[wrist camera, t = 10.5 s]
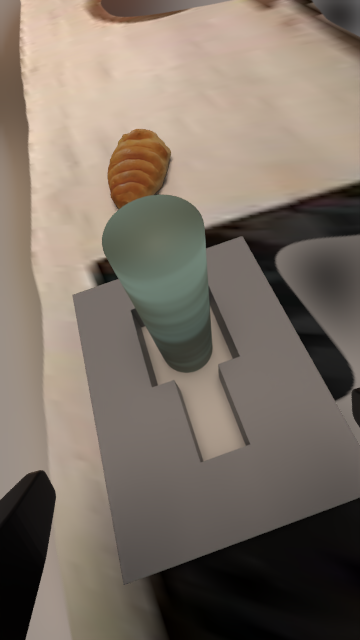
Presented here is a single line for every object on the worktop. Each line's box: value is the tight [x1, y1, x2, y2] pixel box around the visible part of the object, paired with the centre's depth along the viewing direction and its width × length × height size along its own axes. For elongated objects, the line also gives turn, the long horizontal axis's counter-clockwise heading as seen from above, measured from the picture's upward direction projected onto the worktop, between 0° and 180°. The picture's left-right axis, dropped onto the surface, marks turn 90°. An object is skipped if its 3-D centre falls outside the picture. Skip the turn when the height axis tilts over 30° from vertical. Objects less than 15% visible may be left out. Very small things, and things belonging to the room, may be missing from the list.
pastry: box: [108, 129, 171, 209], centre depth 31 cm, size 9×7×4 cm
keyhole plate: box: [73, 237, 360, 585], centre depth 20 cm, size 18×14×4 cm
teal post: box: [102, 195, 213, 373], centre depth 17 cm, size 4×4×13 cm
